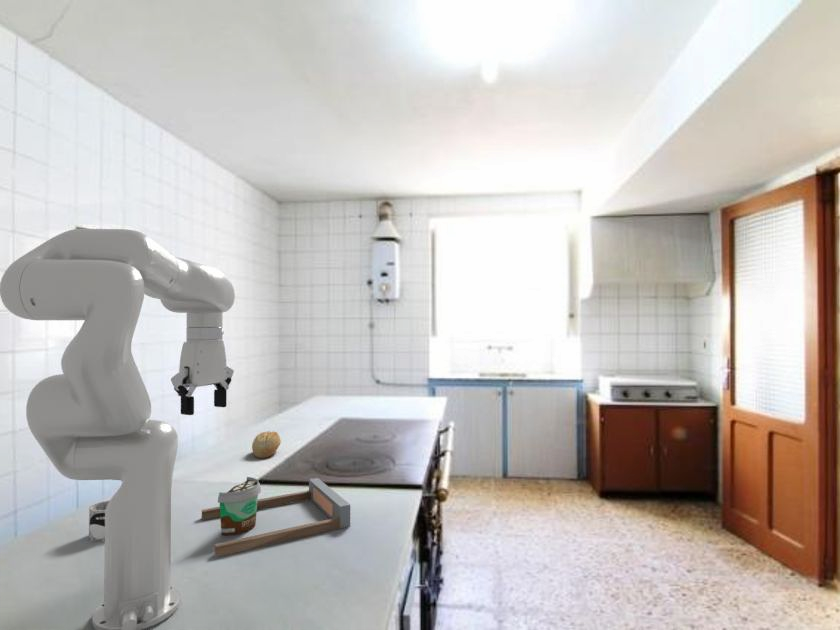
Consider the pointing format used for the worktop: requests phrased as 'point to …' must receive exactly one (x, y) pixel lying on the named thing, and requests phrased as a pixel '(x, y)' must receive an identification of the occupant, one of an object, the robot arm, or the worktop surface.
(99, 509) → the mug
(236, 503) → the food container
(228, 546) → the guide track
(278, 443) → the bread roll
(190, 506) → the worktop surface
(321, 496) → the end stop
